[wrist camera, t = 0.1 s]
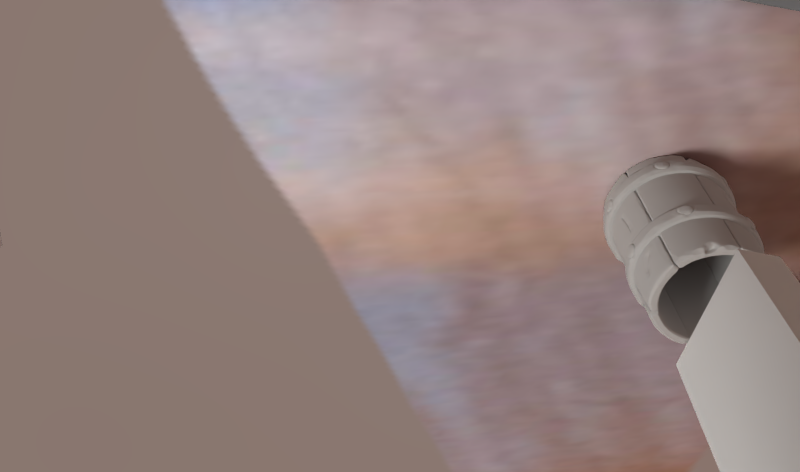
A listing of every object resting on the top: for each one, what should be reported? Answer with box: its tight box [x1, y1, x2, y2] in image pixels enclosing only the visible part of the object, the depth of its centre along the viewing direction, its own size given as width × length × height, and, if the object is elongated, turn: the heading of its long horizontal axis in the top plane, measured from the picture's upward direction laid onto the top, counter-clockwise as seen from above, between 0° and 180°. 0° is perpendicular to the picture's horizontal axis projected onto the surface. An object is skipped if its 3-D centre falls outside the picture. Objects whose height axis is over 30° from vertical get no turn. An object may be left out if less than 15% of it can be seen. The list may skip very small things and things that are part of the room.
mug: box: [603, 155, 765, 344], centre depth 38 cm, size 8×12×12 cm, turn 22°
